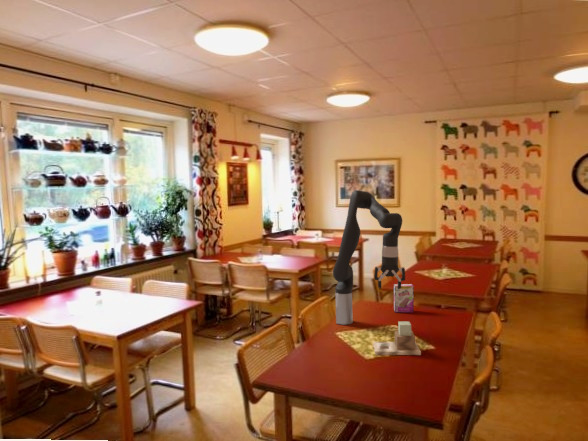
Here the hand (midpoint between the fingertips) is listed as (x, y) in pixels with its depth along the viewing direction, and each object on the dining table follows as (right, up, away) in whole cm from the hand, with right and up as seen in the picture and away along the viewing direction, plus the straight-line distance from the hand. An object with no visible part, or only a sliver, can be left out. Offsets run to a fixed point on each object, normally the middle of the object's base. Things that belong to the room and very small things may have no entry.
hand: (389, 288), depth 197 cm
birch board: (+2, -27, -6) cm, 28 cm away
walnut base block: (+6, -26, -6) cm, 27 cm away
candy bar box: (+21, -23, +52) cm, 61 cm away
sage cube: (+6, -20, -7) cm, 21 cm away
